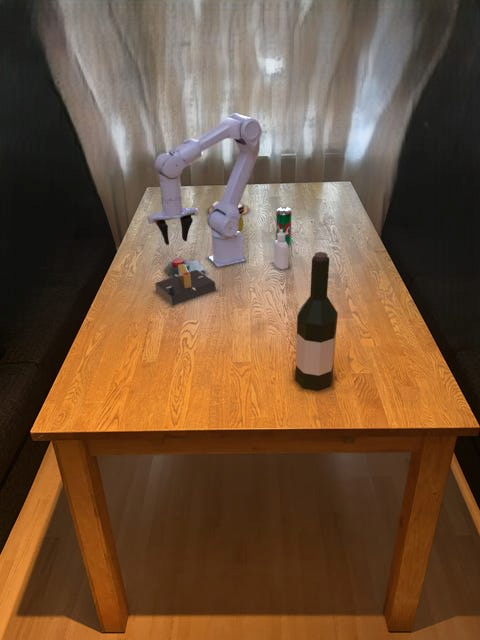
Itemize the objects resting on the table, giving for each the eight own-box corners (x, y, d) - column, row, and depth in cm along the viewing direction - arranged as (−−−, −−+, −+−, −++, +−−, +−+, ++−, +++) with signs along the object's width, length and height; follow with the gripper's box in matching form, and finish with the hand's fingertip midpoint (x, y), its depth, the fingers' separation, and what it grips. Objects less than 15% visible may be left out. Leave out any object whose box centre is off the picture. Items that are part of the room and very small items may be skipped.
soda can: (291, 240, 181) (291, 206, 175) (290, 246, 177) (291, 212, 171) (276, 240, 182) (276, 206, 175) (275, 246, 177) (275, 211, 171)
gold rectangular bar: (178, 277, 153) (177, 263, 151) (184, 276, 154) (183, 262, 152) (185, 288, 147) (183, 275, 145) (191, 287, 148) (190, 273, 146)
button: (181, 262, 163) (181, 256, 162) (185, 266, 160) (185, 261, 159) (170, 264, 162) (170, 259, 161) (174, 269, 159) (173, 263, 158)
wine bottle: (292, 368, 120) (295, 247, 104) (328, 366, 120) (337, 244, 104) (298, 392, 113) (303, 265, 97) (336, 389, 113) (348, 262, 97)
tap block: (196, 277, 160) (195, 267, 158) (217, 292, 151) (216, 282, 150) (154, 290, 153) (153, 281, 151) (174, 307, 145) (172, 297, 143)
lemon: (242, 237, 184) (241, 215, 180) (226, 236, 186) (225, 214, 181) (245, 231, 189) (244, 209, 185) (230, 230, 190) (229, 209, 186)
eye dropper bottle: (287, 261, 167) (288, 226, 161) (288, 269, 162) (289, 233, 156) (273, 262, 167) (273, 226, 161) (274, 270, 162) (274, 233, 156)
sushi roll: (244, 217, 200) (244, 207, 198) (206, 216, 202) (205, 206, 200) (249, 204, 213) (249, 194, 210) (212, 203, 215) (212, 193, 212)
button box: (195, 263, 168) (195, 255, 166) (205, 273, 162) (204, 264, 160) (165, 270, 164) (164, 261, 163) (173, 281, 158) (172, 272, 156)
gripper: (150, 206, 144) (156, 251, 151) (200, 197, 149) (203, 242, 156) (143, 198, 150) (149, 242, 157) (191, 190, 154) (195, 233, 162)
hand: (175, 242), depth 157 cm, fingers open, 5 cm apart
